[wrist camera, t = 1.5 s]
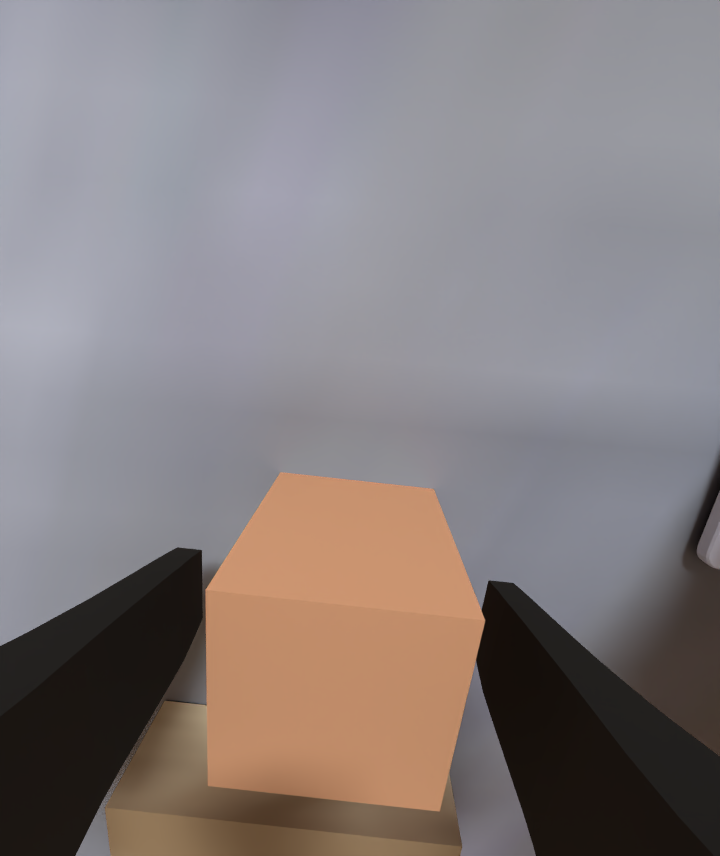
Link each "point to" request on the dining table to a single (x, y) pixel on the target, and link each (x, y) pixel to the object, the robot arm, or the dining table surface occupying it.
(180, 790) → the riser
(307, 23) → the dining table surface
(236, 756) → the block
